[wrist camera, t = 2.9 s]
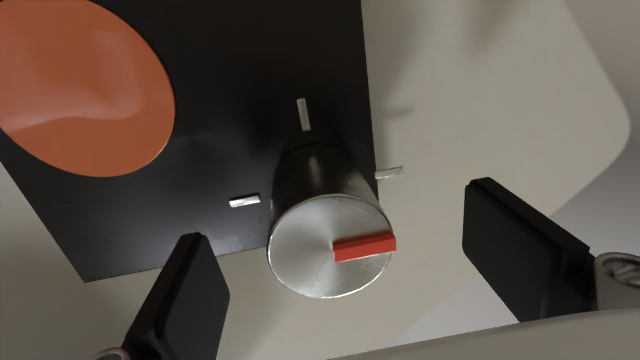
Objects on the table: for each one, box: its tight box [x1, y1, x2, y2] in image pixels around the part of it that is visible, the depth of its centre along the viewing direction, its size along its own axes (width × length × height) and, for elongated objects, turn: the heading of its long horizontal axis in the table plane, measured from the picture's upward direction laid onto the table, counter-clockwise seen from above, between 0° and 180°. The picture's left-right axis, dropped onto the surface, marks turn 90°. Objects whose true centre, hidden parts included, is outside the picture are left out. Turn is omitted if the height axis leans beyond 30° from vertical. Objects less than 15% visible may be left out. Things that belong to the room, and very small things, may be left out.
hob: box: [0, 0, 404, 283], centre depth 14 cm, size 17×14×3 cm
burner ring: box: [0, 0, 175, 177], centre depth 12 cm, size 7×7×1 cm
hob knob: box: [266, 144, 396, 298], centre depth 12 cm, size 4×4×5 cm
